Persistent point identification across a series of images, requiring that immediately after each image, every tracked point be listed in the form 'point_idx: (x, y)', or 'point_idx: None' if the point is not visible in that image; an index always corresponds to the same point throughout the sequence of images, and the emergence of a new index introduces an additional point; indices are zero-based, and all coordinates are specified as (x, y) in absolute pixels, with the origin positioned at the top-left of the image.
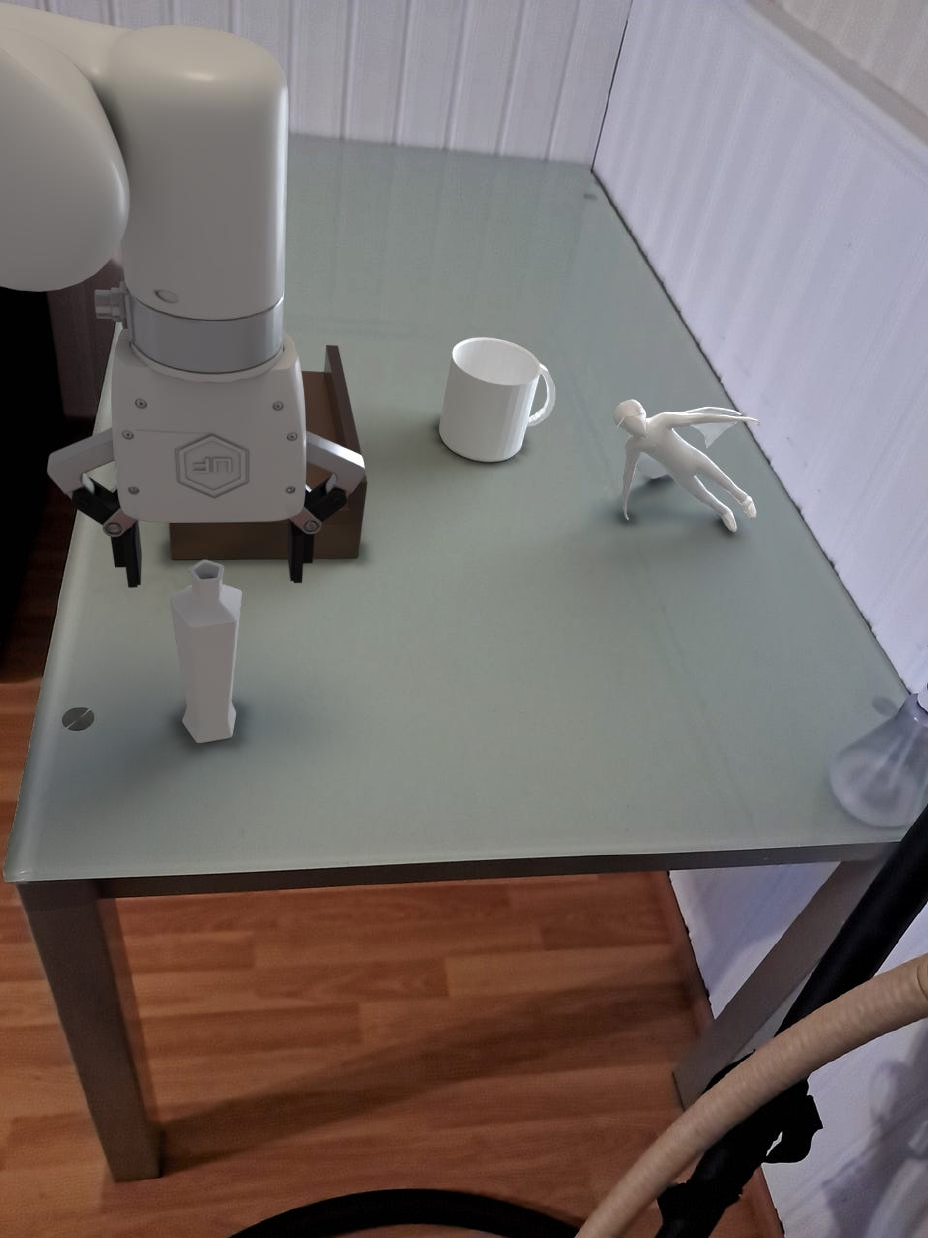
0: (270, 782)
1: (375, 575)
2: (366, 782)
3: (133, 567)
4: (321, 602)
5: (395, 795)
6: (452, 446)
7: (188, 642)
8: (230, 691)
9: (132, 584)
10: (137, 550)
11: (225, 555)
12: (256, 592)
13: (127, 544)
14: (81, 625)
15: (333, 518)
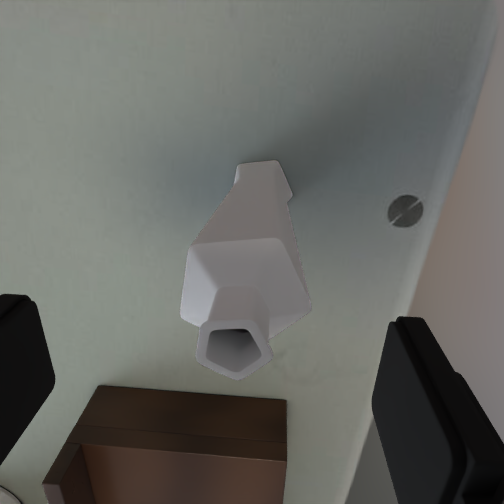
0: (195, 89)
1: (79, 363)
2: (77, 74)
3: (429, 362)
4: (135, 336)
5: (40, 47)
6: (7, 498)
7: (283, 229)
8: (229, 191)
9: (414, 322)
10: (421, 415)
11: (232, 399)
12: None
13: (479, 441)
14: (384, 332)
15: (104, 434)
